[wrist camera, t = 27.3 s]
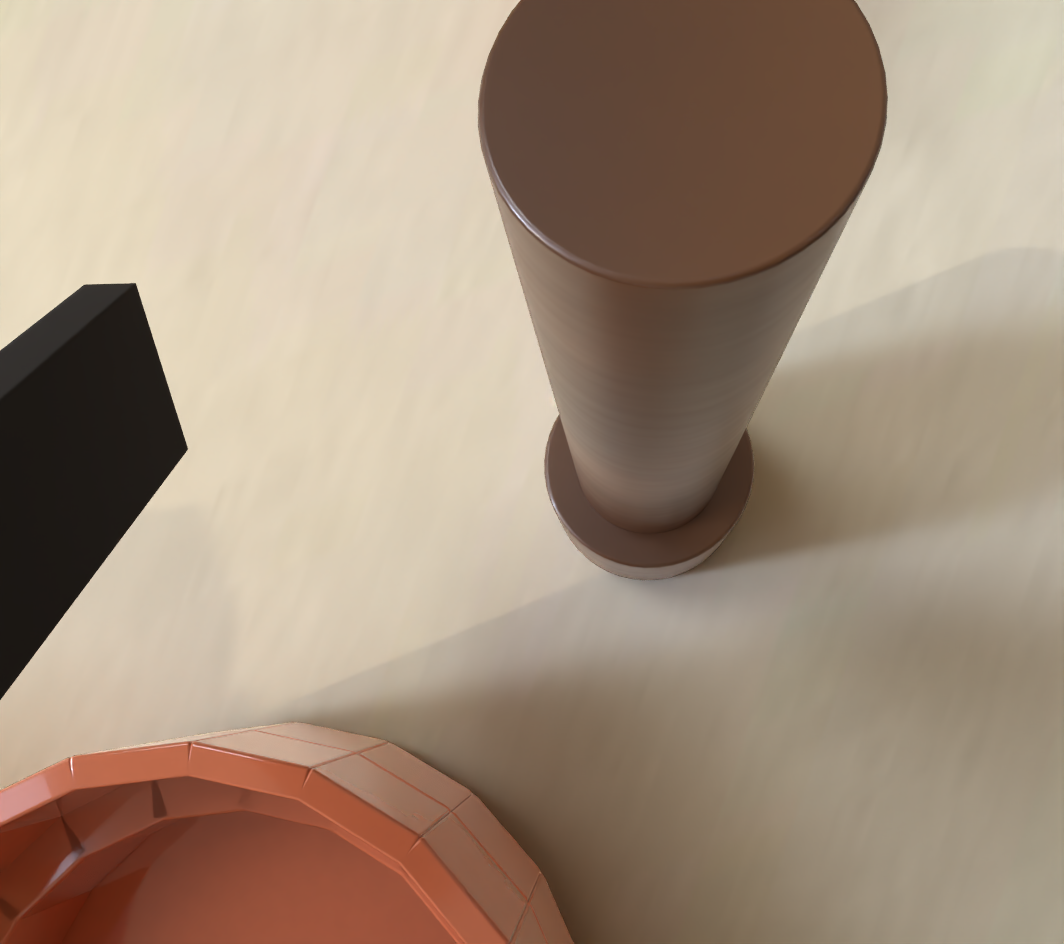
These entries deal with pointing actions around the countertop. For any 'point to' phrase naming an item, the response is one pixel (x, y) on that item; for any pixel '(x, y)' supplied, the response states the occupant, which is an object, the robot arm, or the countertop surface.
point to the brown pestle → (671, 238)
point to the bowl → (262, 848)
